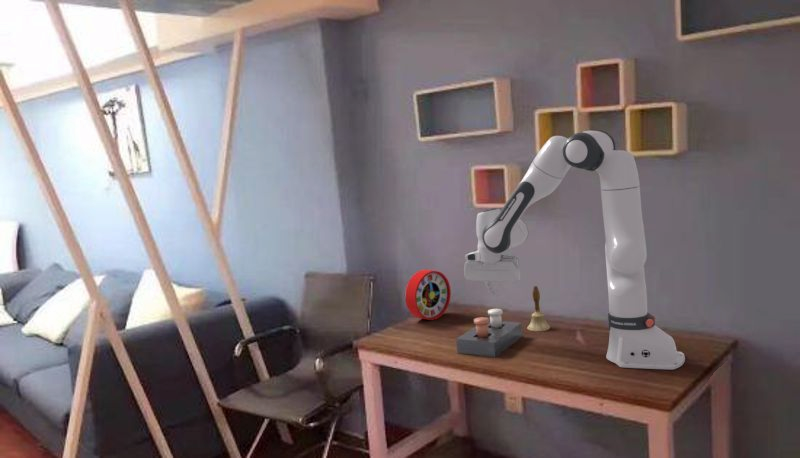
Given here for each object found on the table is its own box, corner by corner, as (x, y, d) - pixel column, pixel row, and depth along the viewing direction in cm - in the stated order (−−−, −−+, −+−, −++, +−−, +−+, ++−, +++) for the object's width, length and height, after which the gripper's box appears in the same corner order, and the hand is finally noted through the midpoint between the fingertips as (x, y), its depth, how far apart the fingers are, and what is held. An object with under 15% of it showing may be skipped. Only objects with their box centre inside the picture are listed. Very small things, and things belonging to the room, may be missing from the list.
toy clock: (417, 325, 255) (412, 276, 253) (407, 323, 260) (403, 275, 257) (452, 313, 268) (448, 266, 266) (442, 311, 273) (438, 265, 270)
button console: (522, 336, 230) (521, 322, 229) (495, 357, 211) (493, 342, 210) (486, 332, 237) (485, 319, 237) (457, 353, 218) (456, 338, 218)
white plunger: (506, 324, 229) (505, 309, 228) (500, 329, 224) (498, 313, 224) (492, 323, 232) (491, 308, 231) (486, 328, 227) (485, 312, 226)
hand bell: (550, 331, 232) (547, 288, 230) (527, 332, 234) (524, 289, 232) (549, 324, 240) (547, 282, 238) (527, 325, 242) (524, 284, 240)
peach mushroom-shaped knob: (492, 334, 220) (491, 317, 219) (486, 338, 215) (485, 322, 215) (479, 332, 222) (477, 316, 222) (472, 337, 218) (471, 320, 217)
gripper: (522, 253, 221) (524, 293, 223) (469, 252, 233) (471, 289, 235) (514, 257, 216) (517, 297, 218) (460, 255, 227) (463, 293, 229)
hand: (493, 293), depth 226 cm, fingers closed
